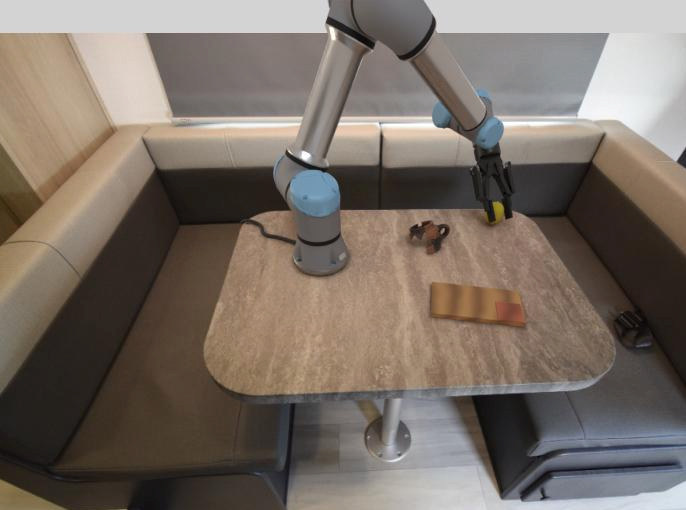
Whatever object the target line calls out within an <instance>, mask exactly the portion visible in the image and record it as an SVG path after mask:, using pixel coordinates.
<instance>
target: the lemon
mask: <svg viewBox="0 0 686 510" xmlns="http://www.w3.org/2000/svg"><path fill="white" fill-rule="evenodd" d="M492 202H493V207H494V212H495V217H496V221H494V222H491V223H489V221H488V216H487V212H485V211H484V219H485V221H486V222H487V223H488V224H490V225H496V224H497V223H500V222H501V220H502V219H503V217H504V216H505V215H504V207H503V205H502V202H499V201H492Z"/></svg>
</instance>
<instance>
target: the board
mask: <svg viewBox="0 0 686 510" xmlns="http://www.w3.org/2000/svg"><path fill="white" fill-rule="evenodd" d="M430 288H431V291H430V292H431V296H430V297H431V298H430V299H431V300H430V302H431V304H430V306H431V307H430V312H431V313H430V317H431V318H438V319H446V320H447V319H448V320H457V321H463V322H474V323H483V324H491V325H501V326H511V327H517V328H525V327H526V325H527V319H526V315H525V312H524V307H523V302H522V299H521V294H520V291H519V290H513V289H505V288H495V287H485V286H476V285H468V284H467V285H466V284H457V283H448V282H438V281H437V282H436V281H432V282H431V287H430Z"/></svg>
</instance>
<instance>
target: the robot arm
mask: <svg viewBox="0 0 686 510" xmlns="http://www.w3.org/2000/svg"><path fill="white" fill-rule="evenodd" d="M327 4H328V9H329V10H328V13H327V16H326V19H325V23H324V26H325V30H326V33H327V41H326V44H325V48H324V50H323V53H322V57H321V60H320V62H319V66H318V69H317V73H316V75H315V78H314V80H313V81H314V82H313V85H312V88H311V91H310V95H309V97H308V101H307V104H306V107H305V109H304V113H303V116H302V119H301V123H300V126H299V129H298V131H297V134H296V137H295V141H294V142H293V143H290V144H288V145H287V146H286V148H285V151H284V154H283V155H281V156H280V157H278V159H277V160H276V161H275V164H274V166H273V172H272V174H273V180H274V183H275V187H276V189H277V190H278V192H279V194H280V195H281V196H282V198H283V199H284V201H285V202H286V204H287V206H288V207H289V209H290V211H291V213H292V215H293V219H294V224H295V232H296V240H295V239H292V238H289V237H287V236H286V237H285V236H282V235H278V234H272V233H267V232H265V229H264V225H263V224H262V223H260V222H259V221H257V220H254V219H252V218H243V219H242V220H241V221H240V222H239V223H240V224H242V225H243V224H245V223H251V224H254V225H256V226H258V227H259V229H260V230H259V231H260V233H261V234H262V236H264V237H267V238H272V239H276V240H277V239H278V240H281V241H284V242H287V243H291V244H294V250H293V253H292V256H293V263H294V265H295V268H297V269H298V270H299V271H300V272H302V273H304V274H305V275H308V276H314V277H325V276H330V275H331V276H332V275H334V274H336V273H338V272H341V271H342V270H343V269H344V268H345V267H346V265H347V264H348V262H349V249H348V247H347V245H346V242H345V240H344V238H343V235H342V222H341V192H340V187H339V184H338V181H337V180H336V179H335V177H334V176H332V175H331V174H330V173H328V170H329V167H330V163H329V160H328V158H327V156H328V153H329V150H330V148H331V145H332V143H333V139H334V137H335V134H336V132H337V128H338V126H339V124H340V120H341V119H342V115H343V113H344V110H345V107H346V105H347V102H348V99H349V97H350V94H351V92H352V90H353V89H352V88H353V86H354V84H355V81H356V78H357V75H358V72H359V70H360V67H361V65H362V62H363V59H364V58H365V56H367V55H370V54H371V53H373V52H374V50H375V47H376V44H377V42H380V43H381V44H383V45H384V46H385V47H387V48H388V49H389V50H391V51H392V53H394V55H395V56H396V57H397V58H398V59H399V61H401V62H408V64H410V66H411V68H412V69H413V70H414V71H415V72H416V73H417V75H418V76H419V77H420V80H422V81H423V83H424V84H425V85H426V86H427V87H428V89H429V90H430V91H431V92H432V94H433V95H434V96H435V98H436V99H437V101H436V102H435V104H434V105H433V108H432V112H431V118H432V119H431V120H432V123H433V126H434V127H436V128H437V129H443V130H444V129H445V130H446V129H450V130H451V131H453V132H455V133H456V134H458V135H459V136H462V137H463V138H464V139H467V140H468V141H470V142H471V145H472V148H473V156H474V160H475V162H476V164H475V165H474V166H473V167H471V168H470V169H469V170H468V171H469V174H470V176H471V180H472V186H473V191H474V198H475V201H477V202H480V203H481V204H482V206H483V210H484V213H485V212H487V216H488V221H489V223H488V224H490V223H491V222H494V221H496V217H495V212H494V207H493V202H494V201H493V199H490V188H491V177H492V178H493V180H495V182H496V184H497V187H498V189H499V191H500V194H501V195H502V198H501V204H502V205H503V207H504V215H503V216H504V219H505V221H506V220H509V219H513V218H514V216H513V210H512V207H513V201H512V196H513V195H514V194H515V193H516V192H517V190H516V185H515V181H514V177H513V172H512V161H511V160H508V161H503V158H502V156H501V154H502V150H501V144H500V141H501V139H502V137H503V136H504V131H505V125H504V123H503V121H502V120H500V119H499V118H498V117H496V116H494V110H493V102H492V100H491V97H490V93H489V91H488V89H485V88H479V89H475V88H474V87H473V85H472V84H471V82H470V81H469V80H468V78H467V76H466V75H465V73H464V72H463V70H462V69H461V66H460V65H459V64H458V62H457V60H456V59H455V58H454V56H453V55H452V53H451V51H450V50H449V48H448V46H447V45H446V44H445V42H444V41H443V39H442V36H440V34H439V33H438V31H437V25H438V24H437V23H438V22H437V19H436V17H435V16H434V14H433V12H432V11H431V9H430V7H429V6H428V4H427V3H426V1H425V0H327Z"/></svg>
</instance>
